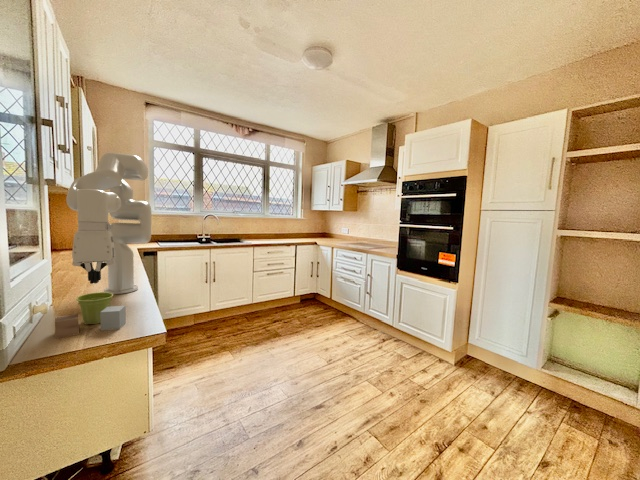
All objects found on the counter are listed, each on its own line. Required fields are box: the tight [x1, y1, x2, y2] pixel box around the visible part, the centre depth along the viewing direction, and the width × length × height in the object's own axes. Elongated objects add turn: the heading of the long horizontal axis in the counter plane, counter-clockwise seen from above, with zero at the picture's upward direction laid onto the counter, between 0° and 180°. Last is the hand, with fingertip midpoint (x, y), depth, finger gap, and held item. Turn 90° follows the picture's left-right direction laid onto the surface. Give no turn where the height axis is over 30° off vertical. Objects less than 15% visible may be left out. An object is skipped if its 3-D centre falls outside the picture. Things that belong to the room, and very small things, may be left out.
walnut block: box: [54, 313, 80, 339], centre depth 79 cm, size 5×5×5 cm
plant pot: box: [75, 291, 114, 325], centre depth 89 cm, size 9×9×9 cm
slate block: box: [100, 305, 127, 331], centre depth 85 cm, size 5×5×6 cm
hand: (94, 282), depth 87 cm, fingers closed
